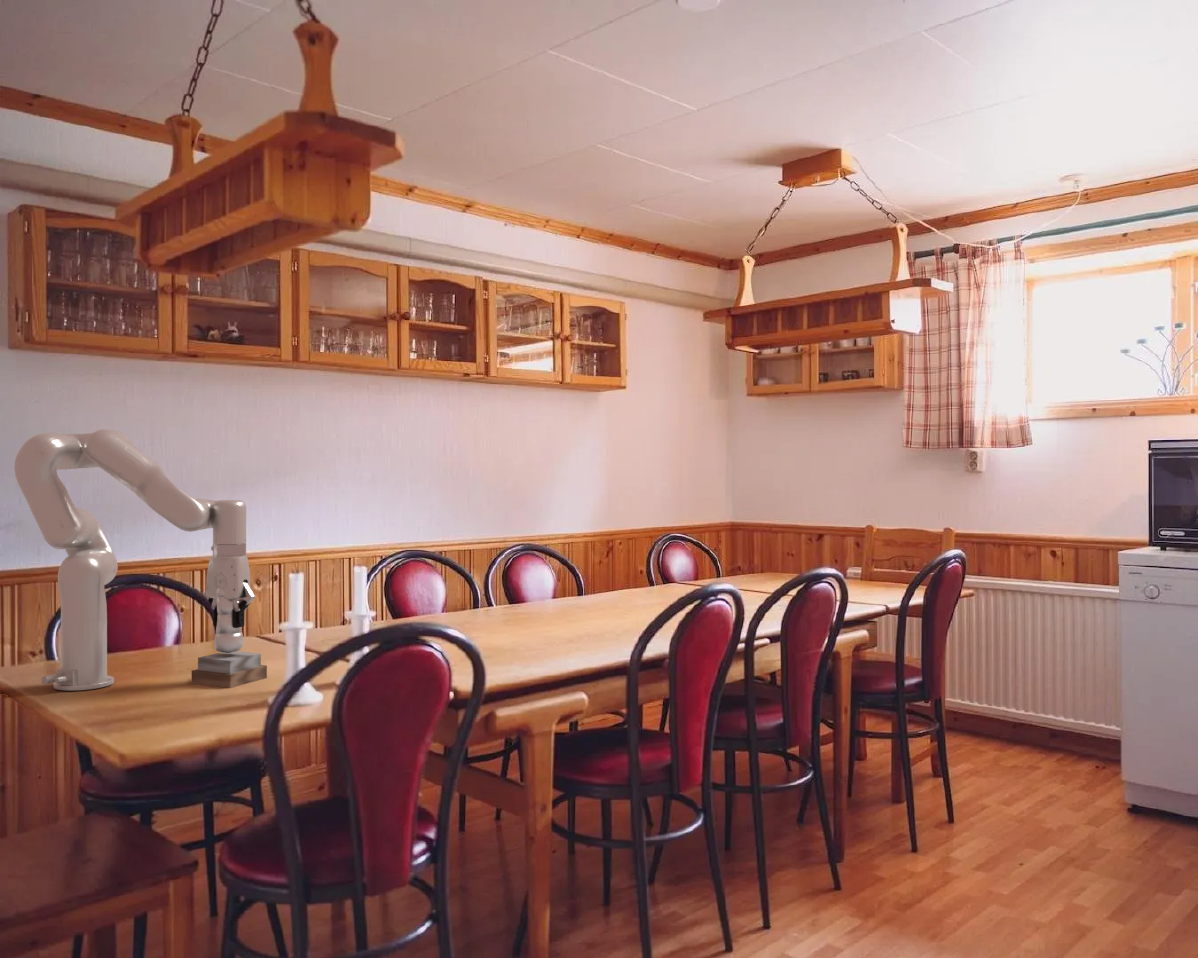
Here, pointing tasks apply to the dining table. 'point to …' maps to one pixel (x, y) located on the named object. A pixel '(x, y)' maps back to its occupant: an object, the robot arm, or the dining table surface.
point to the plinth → (229, 677)
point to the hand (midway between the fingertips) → (228, 625)
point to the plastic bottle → (226, 626)
